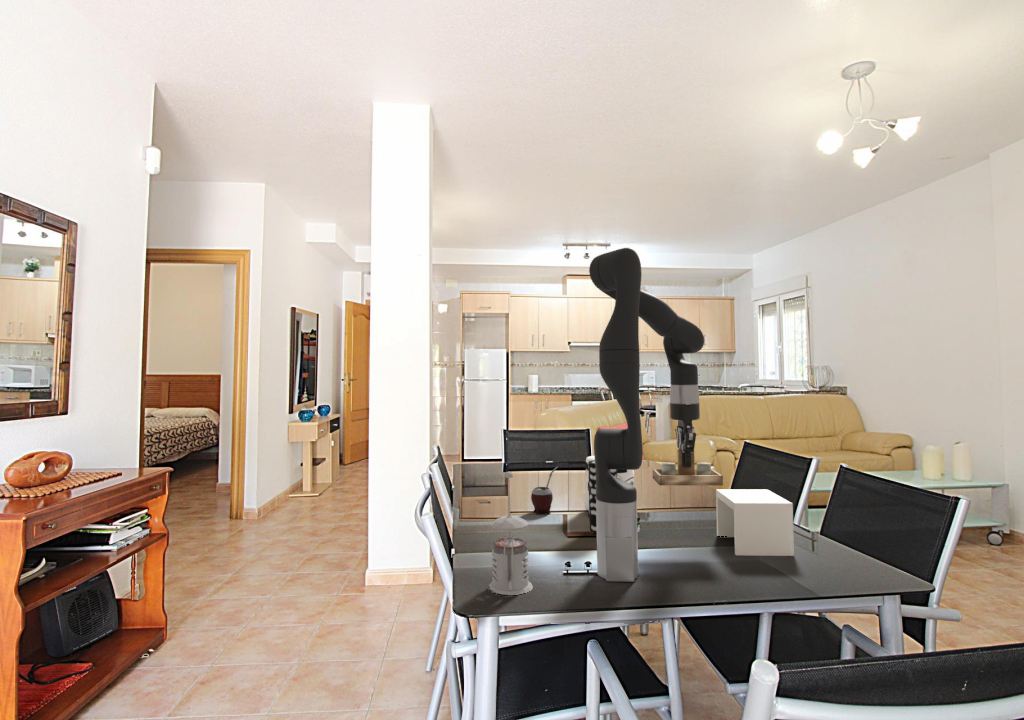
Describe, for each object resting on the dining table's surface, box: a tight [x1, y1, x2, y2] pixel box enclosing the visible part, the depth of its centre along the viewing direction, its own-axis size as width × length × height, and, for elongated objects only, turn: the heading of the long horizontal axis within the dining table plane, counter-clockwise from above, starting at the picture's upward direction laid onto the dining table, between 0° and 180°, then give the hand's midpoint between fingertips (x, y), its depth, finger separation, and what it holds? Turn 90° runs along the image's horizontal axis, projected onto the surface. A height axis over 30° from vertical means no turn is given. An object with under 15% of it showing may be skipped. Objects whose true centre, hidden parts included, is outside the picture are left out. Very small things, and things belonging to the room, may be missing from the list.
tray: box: [652, 448, 724, 487], centre depth 146 cm, size 16×10×8 cm, turn 86°
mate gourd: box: [530, 466, 559, 516], centre depth 181 cm, size 8×8×15 cm
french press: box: [488, 471, 534, 596], centre depth 118 cm, size 10×12×25 cm
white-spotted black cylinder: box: [588, 460, 617, 534], centre depth 159 cm, size 8×8×20 cm
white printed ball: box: [583, 455, 635, 512], centre depth 179 cm, size 17×17×18 cm
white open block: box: [715, 488, 795, 557], centre depth 144 cm, size 16×14×13 cm
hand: (685, 466), depth 146 cm, fingers closed on tray, 1 cm apart
